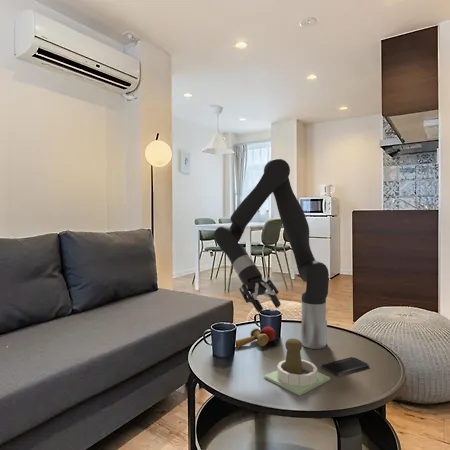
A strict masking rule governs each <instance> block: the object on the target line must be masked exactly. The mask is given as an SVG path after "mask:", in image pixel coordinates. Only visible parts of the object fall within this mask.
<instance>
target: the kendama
mask: <svg viewBox="0 0 450 450" xmlns="http://www.w3.org/2000/svg"><path fill="white" fill-rule="evenodd" d="M275 338H276V331H275V329H274V328H273V327H271V326H264V327H263V328H262V329H261V330H260V329H259V328H253V329H251V331H250V335H249V337H248V336H247V337H243V338H240V339H236V347H235V349H239V348H241V347H244V346H246V345H248V344H250V343H252V342H254V341H256V342H257V344H258V345H259V346H261V347H264V346H266V345H267V344H268V343H271V342H272V341H274V340H275Z"/></svg>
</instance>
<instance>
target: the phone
mask: <svg viewBox="0 0 450 450" xmlns="http://www.w3.org/2000/svg"><path fill="white" fill-rule="evenodd" d="M369 367H370V364H369V363H367V362H365V361H363V360H360V359H358V358H357V357H354V356H350V357H346V358H342V359H338V360H334V361H330V362H327V363H323V364H321V369H322V370H324V371H326V372H328V373H329V374H331V375H333V376H335V377H342V376H345V375H347V374H351V373H355V372H359V371H363V370H366V369H369Z"/></svg>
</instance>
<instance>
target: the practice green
mask: <svg viewBox="0 0 450 450" xmlns="http://www.w3.org/2000/svg"><path fill="white" fill-rule="evenodd" d="M285 361H286V359H284V360H282V361H279V362H278V364H277V366H276V368H277V370H274V371H272V372H269V373H267V374H265V375H264V377H263V378H264V379H265V380H268V381H269V382H272V383H273V384H276V385H278V386H279V387H282V388H283V389H285V390H287V391H289V392H291V393H292V394H295V395H297V396H302V395H304V394H306V393H307V392H309V391H311V390H314V389H315V388H317V387H319V386H321V385H323V384H325V383H326V382H328V381H331V376H328V375H327V374H323V373H321V372H318V367H317V365H315V364H314V363H313V362H311V361H308V360H305V359H301V362H302V370H303V374H301V375H298V374H291V373H288V372H286V371H284V368H285Z"/></svg>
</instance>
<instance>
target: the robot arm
mask: <svg viewBox="0 0 450 450" xmlns="http://www.w3.org/2000/svg"><path fill="white" fill-rule="evenodd" d="M290 168H291V167H290V165H289V163H288V162H287V161H286V160H285V159H282V158H273V159H271V160H269V161H267V162H266V164H265V165H264V168H263V174H262V175H261V178H260V179H259V181H258V183H257V184H256V185H255V186H254V188H253V189H252V190H251V192H249V194H248V195H247V196H246V197H245V198H244V199H243V200H242V201H241V202H240V203H239V205H238V206H237V208H236V209H235V210H234V211H233V213H232V215H231V216H230V222H231V225H230V227H228V226H224V225H223V226H222V225H221V226H219V227H217V228H216V229H215V230H214V241H215V243H216V244H217V246H218V247H219V248H220V249H221V250H222V252H223V253H224V254H225V255H226V256H227V258H228V260H229V262H230V264H231V265H232V267H233V269H234V272H235V273H236V274H237V276H238V278H239V280H240V281H241V283H242V285H241V286H240V288H239V291H240V293H241V296H242V297H243V300H244V301H245V303H247V304H250V303H251V304H252V305H253V307H254V309H255V310H256V312H258V313H261V312H262V311H263V310H264V307H263V305H262V304H261V303H260V301H259V299H258V297H259V296H262V295H263V296H264V297H267V298H269V299H270V300H271V303H272V304H273V305H274V307H275V308H276V309H277V308H279V307H281V302H280V300H279V298H278V297H277V295H278V294H279V290H278V288H277V287H276V286H275V284H274V283H273V281H272V280H271V279H267V281H265V280H264V279H263V274H262V273H261V271H260V270H259V268H258V266H257V265H256V263H255V262H254V260H253V259H252V258H251V257H250V256H249V253H248V252H247V250H246V249H245V247H244V246H243V245H241V244H240V243H239V242H240V240H241V239H242V236H243V235H244V232H245V229H246V227H247V226H248V224H249V223H250V222H251V221H252V220H253V218H254V217H255V215H256V214H257V213H258V211H259V210H260V209H261V207H262V206H263V204H264V203H265V202H266V200H268V198H269V197H270V196H271V195H272V194H273V196H274V199H275V203H276V207H277V211H278V215H279V218H280V221H281V224H282V227H283V229H284V232H285V234H286V237H287V239H288V243H289V246H290V247H291V250H292V253H293V257H294V261H295V264H296V269H297V272H298V276H299V277H300V279H301V280H302V281H304V282H305V284H306V285H305V291H304V292H302V294H301V343H302V347H305V348H307V349H312V350H313V349H314V350H319V349H324V348H326V345H327V344H328V342H327V341H328V338H327V337H328V321H327V313H326V311H327V297H328V295H329V281H330V276H329V275H330V273H329V272H330V271H329V268H328V267H327V265H326V264H324V263H323V262H321V261H318V260H317V261H316V259H315V257H314V254H313V252H312V250H311V246H310V226H309V223H308V219H307V217H306V214H305V211H304V210H303V208H302V206H301V203H300V202H299V200H298V199H297V197H296V195H295V193H294V190H293V189H292V184H291V181H290V177H289V176H290V173H291V169H290Z"/></svg>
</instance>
